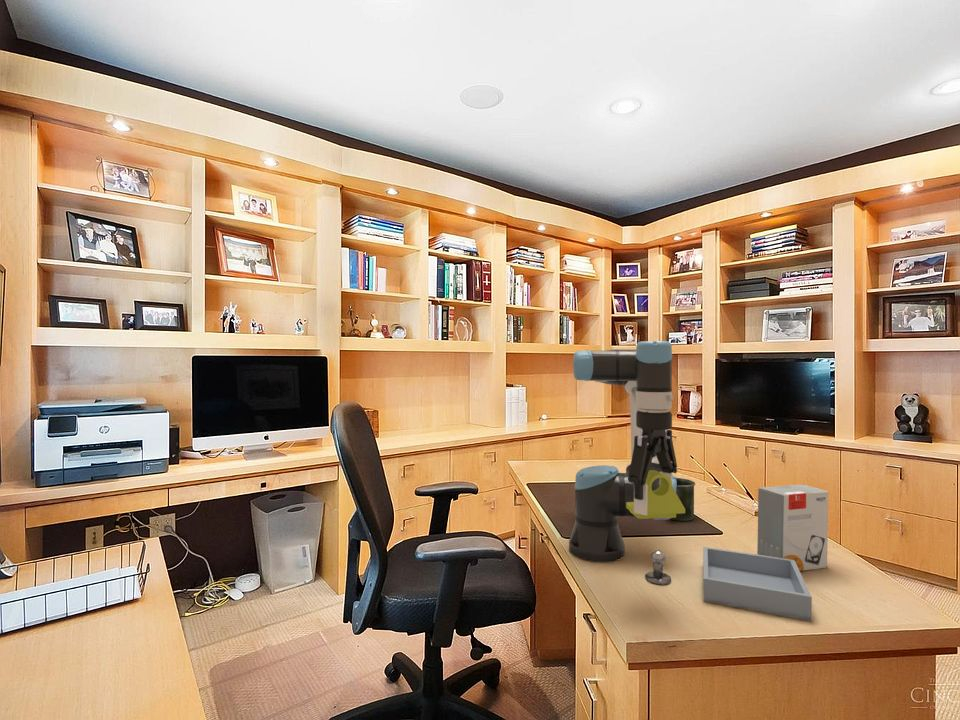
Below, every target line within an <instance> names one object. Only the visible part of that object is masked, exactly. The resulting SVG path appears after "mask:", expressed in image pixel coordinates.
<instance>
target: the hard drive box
mask: <svg viewBox="0 0 960 720" xmlns="http://www.w3.org/2000/svg"><path fill="white" fill-rule="evenodd" d="M757 492H758V493H757V497H758V499H757V500H758V501H757V541H756V542H757V551H756V552H757V553H756V554H757V555H764V556H771V557H778V558H785V559H791V560H795V562H796V565H797V567H798V569H799V571H800V572H803V571H811V570H813V571H814V570H819V569H825V568H828V544H829V543H828V536H829V535H828V534H829V533H828V530H829V525H828V523H829V520H828V519H829V490H824V489H822V488H817V487H814V486H810V485H806V484H802V483H801V484H789V485H777V486H775V485H774V486H763V487H759V488H758V490H757Z"/></svg>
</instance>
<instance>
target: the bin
mask: <svg viewBox="0 0 960 720" xmlns="http://www.w3.org/2000/svg"><path fill="white" fill-rule="evenodd" d="M702 547H703V548H702V553H703V554H702V555H703V556H702V559H703V561H702V566H703V567H702V576H703V577H702V579H703V580H702V581H703V583H702V584H703V586H702V588H703V602H706V603H712V604H718V605H723V606H727V607H728V606H729V607H733V608H738V609H743V610H748V609H749V610H748V611H756V612H759V613H765V614H769V615H770V614H771V615H776V616H781V617H787V618H792V619H796V620H797V619H798V620H803V621H806V622H807V621H808V622H813V621H812V614H813V612H812V607H813V606H812V595H811V593H810V591H809V589H808V586H807V583H806V582H805V579H804V578H803V575H802V573H801V571H799V569H798V567H797V565H796V562H795V560H791V559H785V558H778V557H771V556H764V555H757V553H756V554H755V553H750V552H744V551H743V552H742V551H737V550H736V551H735V550H730V549H728V550H727V549H721V548H714V547H708V546H702Z"/></svg>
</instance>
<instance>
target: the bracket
mask: <svg viewBox="0 0 960 720" xmlns="http://www.w3.org/2000/svg"><path fill="white" fill-rule="evenodd" d="M657 478H660V480H661V483H660V486H659V487H658V488H657V489H656V490H653V491H652V483H653V481H654V480H655V479H657ZM645 484H648V506H647V515H646V516H645V515H641V514H637V513H634V502H627V503H626V508H627V509H628V510H629V511H630V512H631V513H632V514H633V515H634V516H636V517H637V519H638V520H641V519H642V520H645V519H646V520H650V519H649V518H675V517H676V514H680V513H685V508H684V506H683V504H682V503H681V501H680V499H679V497H678V496H677V494H676V492H675V491H674V489H673V487H672V483H671V480H670V479H669V478H668V477H667V476H665V475H663V474H662V473H660V472H658V471H656V470H649V472H648V475H647V479H646V482H645Z"/></svg>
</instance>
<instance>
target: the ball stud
mask: <svg viewBox="0 0 960 720" xmlns="http://www.w3.org/2000/svg"><path fill="white" fill-rule="evenodd" d="M650 557H651V558H650V559H651V560H652V562H653V563H652V569H653V571H648V572H646V573H645V574H644V578H645V581H647V582H648V583H651V584H653V585H656V586H669V585H670V584H672V577H671V576H670V575H669V574H667V573H665V572H664V563H665V560H666V556H665V553H664V552H662V550H659V549H655V550H653V551H652V552H651V555H650Z"/></svg>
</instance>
